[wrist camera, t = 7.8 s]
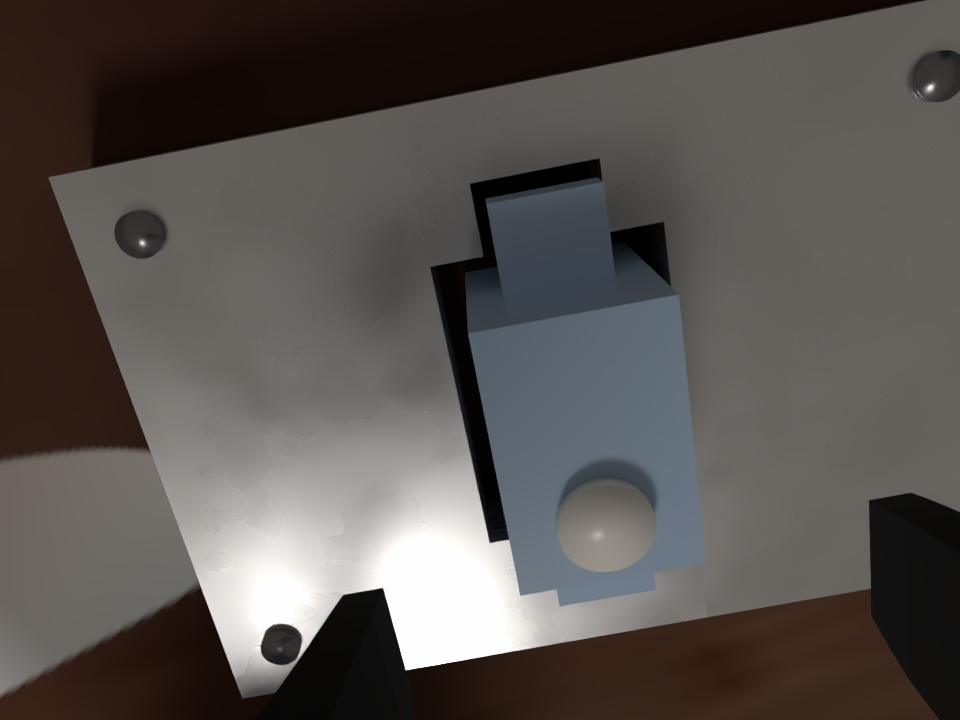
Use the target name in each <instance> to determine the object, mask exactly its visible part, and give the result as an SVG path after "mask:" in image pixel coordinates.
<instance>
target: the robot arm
mask: <svg viewBox="0 0 960 720" xmlns="http://www.w3.org/2000/svg"><path fill="white" fill-rule="evenodd" d="M869 530H870V573H871V616H872V617H873V619H874V621H875V623H876V625H877V626H878V628H879V630H880V632H881V633H882V635H883V637H884V639H885V640H886V642H887V644H888V646H889V647H890V649H891V651H892V652H893V654H894V656H895V657H896V659H897V661H898V662H899V664H900V666H901V667H902V669H903V671H904V672H905V674H906V675H907V677H908V679H909V680H910V681H911V683H912V684H913V685H914V687H915V688H916V689H917V691H918V692H919V693H920V695H921V696H922V697H923V699H924V700H925V701H926V703H927V704H928V705H929V707H930V708H931V709H932V710H933V712H934V713H935V714H936V716H937V717H938V718H939V720H960V512H959V511H956V510H954V509H952V508H949V507H947V506H945V505H942V504H940V503H937V502H935V501H932V500H930V499H927V498H925V497H922V496H919V495H916V494H914V493H906V494H901V495H895V496H890V497H884V498H878V499H873V500H869ZM255 720H413V694H412V690H411V687H410V683H409V679H408V676H407V672H406V669H405V665H404V661H403V658H402V654H401V650H400V647H399V643H398V640H397V636H396V632H395V629H394V625H393V622H392V618H391V614H390V611H389V607H388V603H387V600H386V596H385V593H384V589H383V588H379V589H373V590H367V591H362V592H356V593H351V594H345V595H343V596H342V597H341V599H340V600H339V601H338V603H337V604H336V606H335V607H334V608H333V610H332V611H331V613H330V614H329V616H328V617H327V619H326V620H325V622H324V623H323V625H322V626H321V628H320V629H319V631H318V632H317V634H316V635H315V637H314V638H313V640H312V641H311V642H310V644H309V645H308V647H307V648H306V650H305V651H304V653H303V654H302V656H301V657H300V659H299V660H298V662H297V663H296V664H295V666H294V667H293V669H292V670H291V671H290V673H289V674H288V676H287V677H286V678H285V680H284V681H283V683H282V684H281V685H280V687H279V688H278V690H277V691H276V692H275V694H274V695H273V697H272V698H271V699H270V701H269V702H268V703H267V705H266V706H265V707H264V709H263V710H262V711H261V713H260V714H259V715H258V716H257V718H256V719H255Z"/></svg>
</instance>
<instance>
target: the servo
mask: <svg viewBox="0 0 960 720" xmlns="http://www.w3.org/2000/svg"><path fill="white" fill-rule="evenodd" d="M485 200H486V205H487V211H488V216H489V222H490V227H491V233H492V238H493V244H494V249H495V255H496V261H497V267H491V268H486V269H481V270H475V271H470V272H465V285H466V304H467V323H468V336H469V341H470V346H471V351H472V356H473V361H474V366H475V371H476V376H477V381H478V386H479V391H480V396H481V401H482V406H483V411H484V416H485V421H486V426H487V431H488V436H489V441H490V446H491V451H492V456H493V461H494V466H495V471H496V476H497V481H498V486H499V491H500V496H501V501H502V506H503V511H504V516H505V521H506V526H507V531H508V536H509V541H510V546H511V551H512V556H513V561H514V566H515V571H516V576H517V581H518V586H519V591H520V596H522V595H528V594H534V593H540V592H545V591H551V590H556V592H557V597H558V602H559V606H565V605H571V604H577V603H582V602H588V601H594V600H600V599H606V598H611V597H617V596H623V595H629V594H634V593H640V592H646V591H652V590H656V587H655V580H654V573H655V572H660V571H666V570H672V569H678V568H683V567H689V566H695V565H701V564H706V559H705V549H704V539H703V529H702V519H701V509H700V499H699V489H698V479H697V469H696V459H695V449H694V439H693V430H692V420H691V410H690V400H689V390H688V380H687V370H686V360H685V350H684V340H683V330H682V320H681V310H680V300H679V294H678V293H677V292H676V291H675V290H674V289H673V288H672V287H671V286H670V285H668V284H667V283H666V282H665V281H664V280H663V279H662V278H661V277H660V276H659V275H658V274H657V273H656V272H655V271H654V270H653V269H652V268H651V267H650V266H649V265H648V264H647V263H646V262H645V261H643V260H642V259H641V258H640V257H639V256H638V255H637V254H636V253H635V252H634V251H633V250H632V249H631V248H630V247H629V246H628V245H627V244H626V243H625V242H624V243H619V244H614V245H612V244H611V236H610V229H609V221H608V213H607V205H606V197H605V190H604V182H603V181H601V180H600V179H598V178H597V177H596V178H591V179H585V180H580V181H575V182H570V183H564V184H559V185H554V186H549V187H544V188H538V189H533V190H528V191H523V192H517V193H512V194H507V195H502V196H496V197H491V198H486V199H485Z"/></svg>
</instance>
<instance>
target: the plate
mask: <svg viewBox="0 0 960 720" xmlns="http://www.w3.org/2000/svg"><path fill="white" fill-rule="evenodd" d="M582 161H586V162H587V169H588V176H589V179H591V178H596V177H597V178H598V179H600V180H601V181H603V182H604V190H605V197H606V205H607V213H608V221H609V229H610V232H613V231H618V230H623V229H628V228H633V227H639V226H644V225H645V227H646V235H647V244H648V252H649V261H650V267H651V268H652V269H653V270H654V271H655V272H656V273H657V274H658V275H659V276H660V277H661V278H662V279H663V280H664V281H665V282H666V283H667V284H668V285H670V286H671V287H672V288H673V289H674V290H675V291H676V292H677V293H678V294H679V300H680V310H681V320H682V330H683V340H684V350H685V360H686V370H687V380H688V390H689V400H690V410H691V420H692V430H693V439H694V449H695V459H696V469H697V479H698V489H699V499H700V509H701V519H702V529H703V539H704V549H705V559H706V564H701V565H695V566H689V567H683V568H678V569H672V570H666V571H660V572H655V573H654V580H655V587H656V590H652V591H646V592H640V593H634V594H629V595H623V596H617V597H611V598H606V599H600V600H594V601H588V602H582V603H577V604H571V605H565V606H559V602H558V597H557V592H556V590H551V591H545V592H540V593H534V594H528V595H522V596H520V591H519V586H518V581H517V576H516V571H515V566H514V561H513V556H512V551H511V546H510V541H509V536H508V531H507V526H506V521H505V516H504V511H503V506H502V501H501V500H498V501H493V502H486V497H485V493H484V488H483V483H482V478H481V474H480V469H479V464H478V460H477V455H476V450H475V446H474V441H473V436H472V432H471V427H470V422H469V418H468V413H467V408H466V404H465V399H464V394H463V389H462V385H461V380H460V375H459V371H458V366H457V361H456V357H455V352H454V347H453V343H452V338H451V333H450V329H449V324H448V319H447V315H446V310H445V305H444V300H443V296H442V291H441V286H440V282H439V277H438V272H437V268H436V266H437V265H443V264H448V263H453V262H458V261H463V260H468V259H474V258H479V257H483V251H482V244H481V238H480V233H479V228H478V222H477V217H476V212H475V207H474V202H473V196H472V191H471V186H470V184H471V183H476V182H481V181H486V180H491V179H496V178H501V177H506V176H511V175H516V174H521V173H527V172H532V171H537V170H542V169H547V168H552V167H557V166H562V165H567V164H572V163H577V162H582ZM49 180H50V183H51V185H52V188H53V191H54V193H55V196H56V199H57V201H58V204H59V207H60V209H61V212H62V215H63V217H64V220H65V223H66V226H67V228H68V231H69V234H70V236H71V239H72V242H73V244H74V247H75V250H76V252H77V255H78V258H79V260H80V263H81V266H82V269H83V271H84V274H85V277H86V279H87V282H88V285H89V287H90V290H91V293H92V295H93V298H94V301H95V304H96V306H97V309H98V312H99V314H100V317H101V320H102V322H103V325H104V328H105V330H106V333H107V336H108V338H109V341H110V344H111V347H112V349H113V352H114V355H115V357H116V360H117V363H118V365H119V368H120V371H121V373H122V376H123V379H124V381H125V384H126V387H127V390H128V392H129V395H130V398H131V400H132V403H133V406H134V408H135V411H136V414H137V416H138V419H139V422H140V424H141V427H142V430H143V433H144V435H145V438H146V441H147V443H148V446H149V449H150V451H151V454H152V457H153V459H154V462H155V465H156V467H157V470H158V473H159V476H160V478H161V481H162V484H163V486H164V489H165V492H166V494H167V497H168V500H169V502H170V505H171V507H172V510H173V513H174V516H175V519H176V521H177V524H178V526H179V529H180V532H181V535H182V537H183V540H184V543H185V545H186V548H187V551H188V553H189V556H190V559H191V561H192V564H193V567H194V570H195V572H196V575H197V578H198V580H199V583H200V586H201V588H202V591H203V594H204V596H205V599H206V602H207V605H208V607H209V610H210V613H211V615H212V618H213V621H214V623H215V626H216V629H217V631H218V634H219V637H220V639H221V642H222V645H223V648H224V650H225V653H226V656H227V658H228V661H229V664H230V666H231V669H232V672H233V674H234V677H235V680H236V682H237V685H238V688H239V691H240V693H241V696H242V699H243V698H249V697H255V696H260V695H266V694H272V693H275V692H276V691H277V690H278V688H279V687H280V685H281V684H282V683H283V681H284V680H285V678H286V677H287V676H288V674H289V673H290V671H291V670H292V669H293V667H294V666H295V664H296V663H297V662H298V660H299V659H300V657H301V656H302V654H303V653H304V651H305V650H306V648H307V647H308V645H309V644H310V642H311V641H312V640H313V638H314V637H315V635H316V634H317V632H318V631H319V629H320V628H321V626H322V625H323V623H324V622H325V620H326V619H327V617H328V616H329V614H330V613H331V611H332V610H333V608H334V607H335V606H336V604H337V603H338V601H339V600H340V599H341V597H342V596H343V595H345V594H351V593H356V592H362V591H367V590H373V589H379V588H383V589H384V593H385V596H386V600H387V603H388V607H389V611H390V614H391V618H392V622H393V625H394V629H395V632H396V636H397V640H398V643H399V647H400V650H401V654H402V658H403V661H404V665H405V669H406V670H409V669H414V668H420V667H426V666H431V665H437V664H443V663H449V662H454V661H460V660H466V659H471V658H477V657H483V656H488V655H494V654H500V653H506V652H511V651H517V650H523V649H528V648H534V647H540V646H546V645H551V644H557V643H563V642H568V641H574V640H580V639H585V638H591V637H597V636H603V635H608V634H614V633H620V632H625V631H631V630H637V629H643V628H648V627H654V626H660V625H665V624H671V623H677V622H682V621H688V620H694V619H700V618H705V617H711V616H717V615H722V614H728V613H734V612H739V611H745V610H751V609H757V608H762V607H768V606H774V605H779V604H785V603H791V602H797V601H802V600H808V599H814V598H819V597H825V596H831V595H836V594H842V593H848V592H854V591H859V590H865V589H871V573H870V530H869V500H873V499H878V498H884V497H890V496H895V495H901V494H906V493H914V494H916V495H919V496H922V497H925V498H927V499H930V500H932V501H935V502H937V503H940V504H942V505H945V506H947V507H949V508H952V509H954V510H956V511H959V512H960V0H918V1H913V2H908V3H903V4H898V5H893V6H888V7H883V8H878V9H873V10H868V11H863V12H858V13H853V14H848V15H843V16H838V17H833V18H829V19H824V20H819V21H814V22H809V23H804V24H799V25H794V26H789V27H784V28H779V29H774V30H769V31H764V32H759V33H754V34H749V35H744V36H739V37H734V38H729V39H724V40H719V41H715V42H710V43H705V44H700V45H695V46H690V47H685V48H680V49H675V50H670V51H665V52H660V53H655V54H650V55H645V56H640V57H635V58H630V59H625V60H620V61H615V62H610V63H605V64H600V65H596V66H591V67H586V68H581V69H576V70H571V71H566V72H561V73H556V74H551V75H546V76H541V77H536V78H531V79H526V80H521V81H516V82H511V83H506V84H501V85H496V86H491V87H486V88H482V89H477V90H472V91H467V92H462V93H457V94H452V95H447V96H442V97H437V98H432V99H427V100H422V101H417V102H412V103H407V104H402V105H397V106H392V107H387V108H382V109H377V110H372V111H367V112H363V113H358V114H353V115H348V116H343V117H338V118H333V119H328V120H323V121H318V122H313V123H308V124H303V125H298V126H293V127H288V128H283V129H278V130H273V131H268V132H263V133H258V134H253V135H249V136H244V137H239V138H234V139H229V140H224V141H219V142H214V143H209V144H204V145H199V146H194V147H189V148H184V149H179V150H174V151H169V152H164V153H159V154H154V155H149V156H144V157H139V158H134V159H130V160H125V161H120V162H115V163H110V164H105V165H100V166H95V167H90V168H86V169H82V170H77V171H73V172H69V173H65V174H61V175H57V176H53V177H49Z"/></svg>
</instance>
